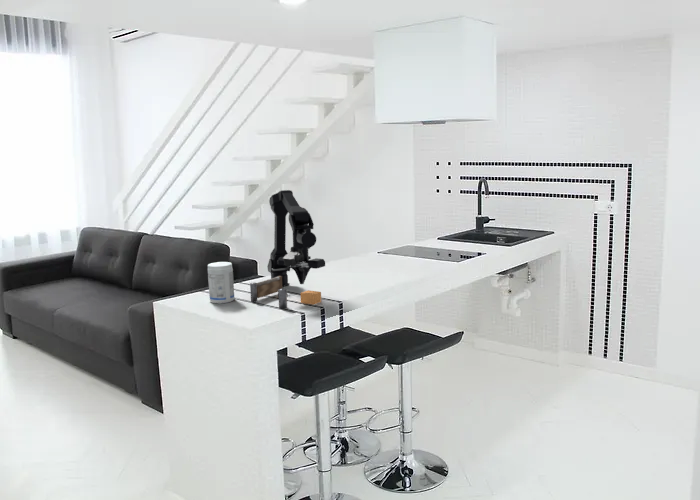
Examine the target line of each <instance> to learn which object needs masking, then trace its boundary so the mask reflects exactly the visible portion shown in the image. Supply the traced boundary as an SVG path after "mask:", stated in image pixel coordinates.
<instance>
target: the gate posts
mask: <svg viewBox="0 0 700 500" xmlns="http://www.w3.org/2000/svg"><path fill="white" fill-rule="evenodd" d="M256 283H257V282H249V288H250V303H257V302H258V298H257V285H256ZM277 293H278V309H280V310H284V309H285V310H287V308H288V296H287V294H288V293H287V288H284V287H282V289H278V292H277Z"/></svg>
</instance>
